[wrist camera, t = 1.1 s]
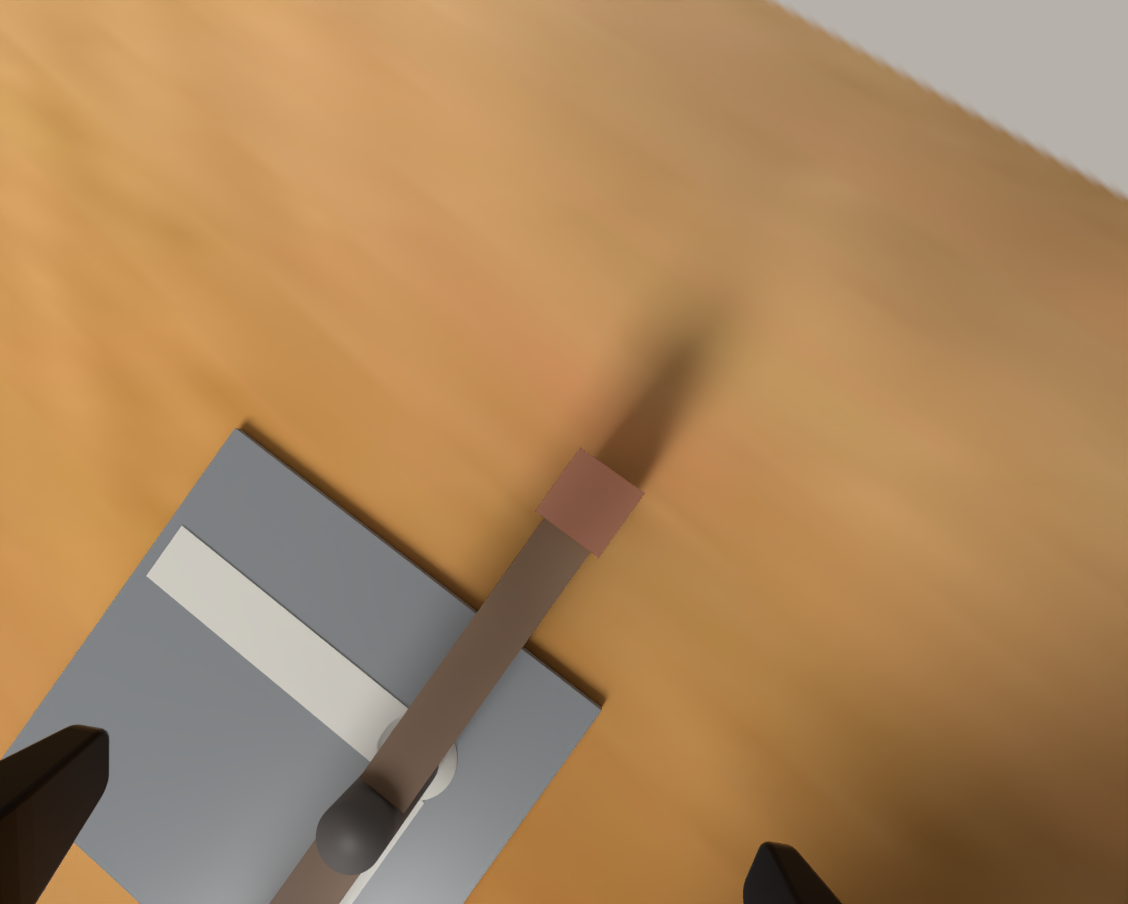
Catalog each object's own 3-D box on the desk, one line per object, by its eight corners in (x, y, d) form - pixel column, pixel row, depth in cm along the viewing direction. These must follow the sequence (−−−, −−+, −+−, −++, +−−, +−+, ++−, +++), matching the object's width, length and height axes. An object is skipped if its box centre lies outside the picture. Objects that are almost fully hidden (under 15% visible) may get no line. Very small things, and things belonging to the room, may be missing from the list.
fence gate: (642, 493, 20) (644, 492, 16) (453, 756, 20) (404, 829, 16) (591, 457, 21) (580, 447, 16) (406, 717, 21) (343, 779, 16)
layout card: (601, 707, 21) (601, 711, 20) (339, 1073, 21) (334, 1083, 21) (240, 428, 23) (234, 428, 22) (3, 765, 23) (-7, 769, 23)
